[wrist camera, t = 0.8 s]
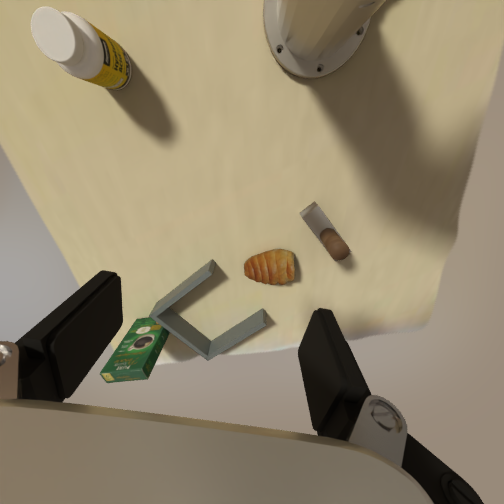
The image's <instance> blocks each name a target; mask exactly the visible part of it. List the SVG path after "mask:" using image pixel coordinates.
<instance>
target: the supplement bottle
mask: <svg viewBox="0 0 504 504" xmlns="http://www.w3.org/2000/svg"><path fill="white" fill-rule="evenodd" d="M31 31H32V35H33V38H34V40H35V42H36V44H37V46H38V47H39V49H40V50H41V51H42V52H43V53H44V54H45V55H46V56H47V57H48V58H50V59H52V60H53V61H56V62H57V63H58V64H59V66H60V67H61V68H62V69H64V70H65V71H66V72H67V73H69V74H70V75H72V76H75V77H77V78H79V79H82V80H85V81H88V82H91V83H94V84H96V85H99V86H102V87H105V88H108V89H111V90H120V89H122V88H124V87H125V86H126V85H127V84H128V83H129V81H130V78H131V64H130V60H129V58H128V56H127V54H126V52H125V50H124V49H123V48H122V47H121V46H120V45H119V44H118V43H117V42H115V41H114V40H113V39H111V38H110V37H109V36H107V35H106V34H104V33H103V32H102V31H100V30H99V29H97V28H96V27H95V26H93V25H92V24H90V23H89V22H88V21H86V20H85V19H83V18H82V17H80V16H78V15H76V14H74V13H71V12H59V11H58V10H56V9H54V8H51V7H40V8H38V9H37V10H36V11H35V12H34V13H33V15H32V18H31Z"/></svg>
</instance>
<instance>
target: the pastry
mask: <svg viewBox="0 0 504 504" xmlns="http://www.w3.org/2000/svg"><path fill="white" fill-rule="evenodd" d="M294 259H295V258H294V253H293V252H291V251H288V250H283V249H274V250H270V251H266V252H263V253H261V254H257V255H255V256H252V257H251V258H249V259H248V260H247V261H246V262H245V264H244V270H245V276H247V277H248V278H249V279H252V280H255V281H256V282H262V283H264V284H267V283H269V284H271V285H275V284H277V283H279V284H281V285H284V284H286V283H287V282H290V281H293V280H294V278H295V268H294Z"/></svg>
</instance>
